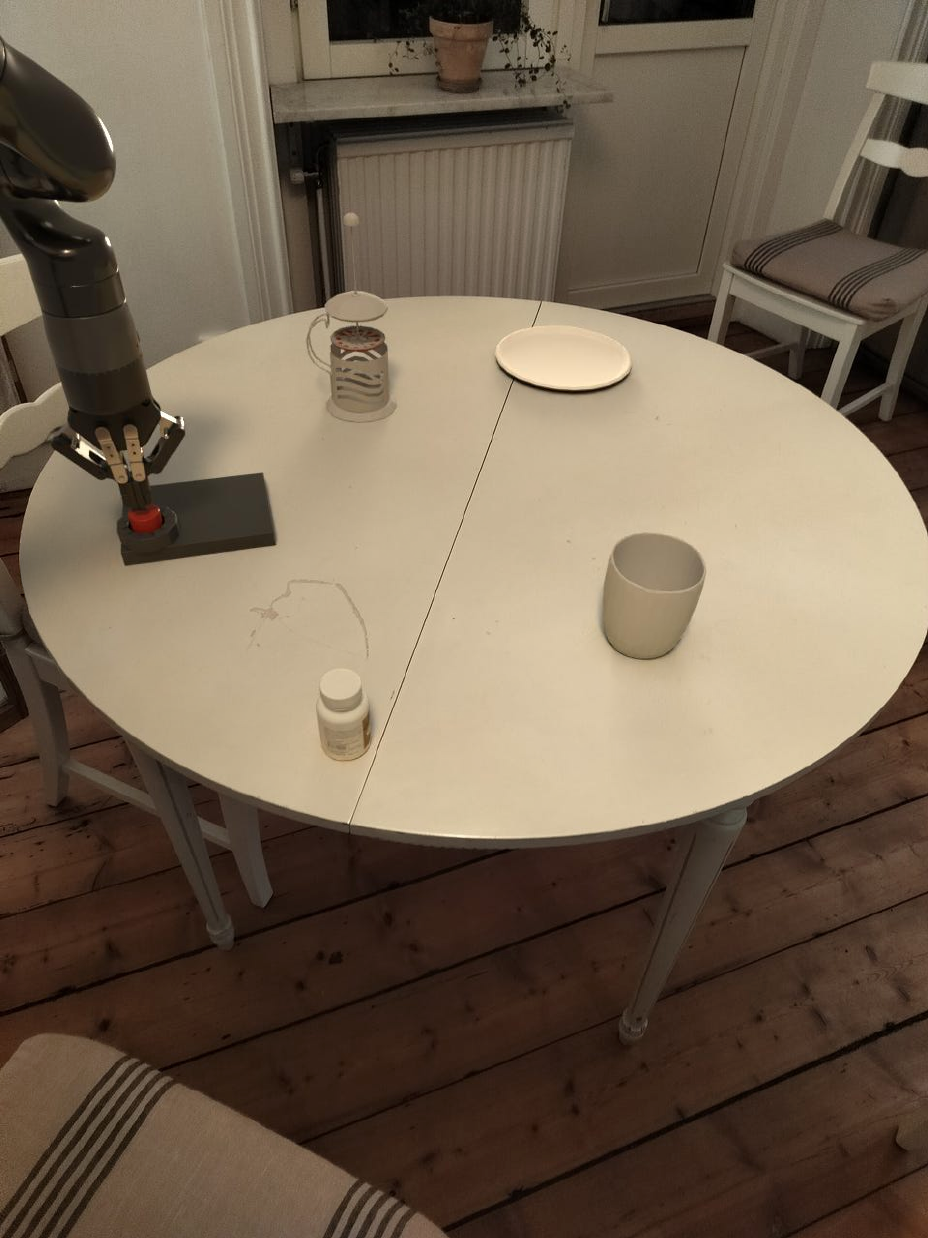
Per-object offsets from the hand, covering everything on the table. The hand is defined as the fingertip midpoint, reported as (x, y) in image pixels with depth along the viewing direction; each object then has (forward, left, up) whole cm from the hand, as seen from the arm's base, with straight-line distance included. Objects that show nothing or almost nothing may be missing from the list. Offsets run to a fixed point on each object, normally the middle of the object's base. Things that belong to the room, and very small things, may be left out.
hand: (140, 506), depth 87 cm
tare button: (0, 0, -2) cm, 3 cm away
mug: (+47, -23, -6) cm, 53 cm away
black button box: (+5, +4, -6) cm, 8 cm away
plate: (+60, +33, -6) cm, 69 cm away
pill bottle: (+16, -31, -6) cm, 36 cm away
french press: (+27, +27, -6) cm, 38 cm away
